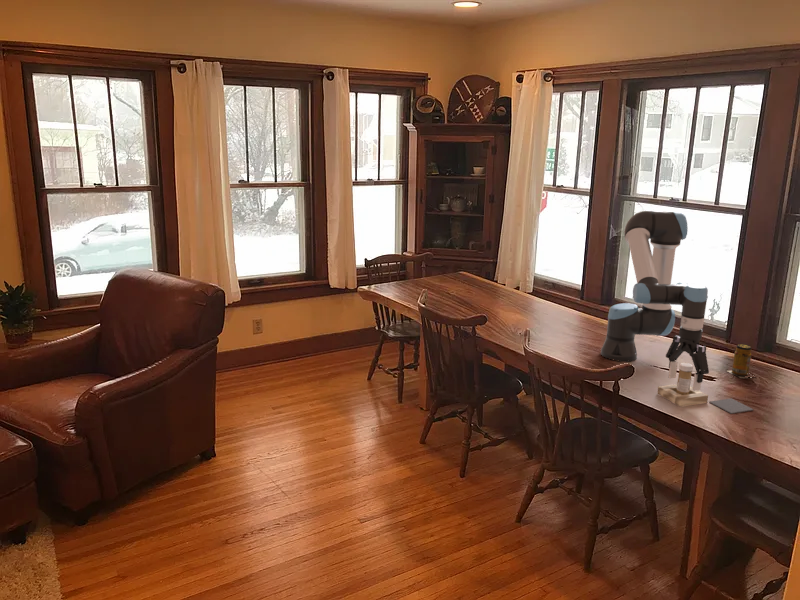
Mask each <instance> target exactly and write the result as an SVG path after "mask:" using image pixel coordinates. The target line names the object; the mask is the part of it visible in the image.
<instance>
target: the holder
mask: <svg viewBox="0 0 800 600" xmlns="http://www.w3.org/2000/svg"><path fill="white" fill-rule="evenodd" d="M676 391H677V383H675V384H668V385H661V386H658V387H657V395H658V396H660V397H662V398H664V399H666V400H668V402H669V401H670V402H671V403H673V404H674V405H676V406H678V407H679V408H684V407H688V406H695V405H702V404H707V403H708V399H709V395H708V394H706V393H704V391H703V392H702V391H701V390H697V391H693V386H691V385H690V391H689V394H688V395H681V394H679V393H677V392H676Z"/></svg>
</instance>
